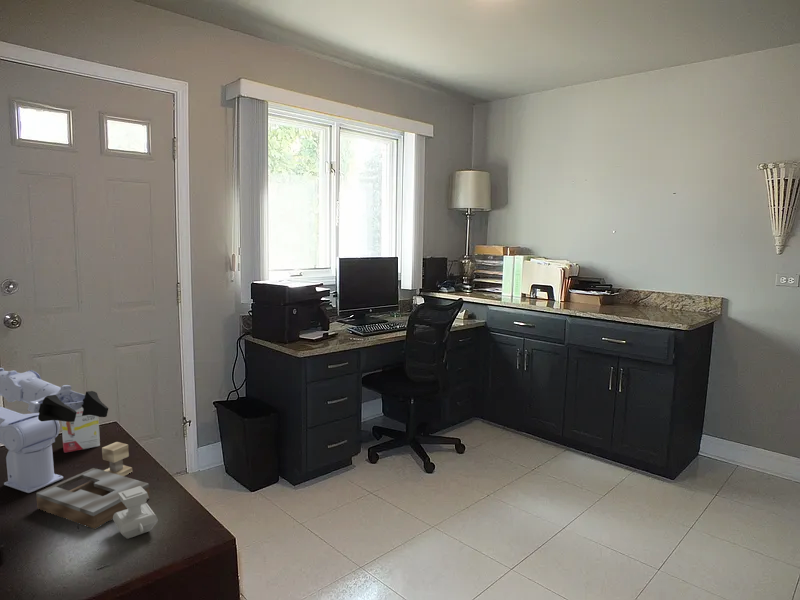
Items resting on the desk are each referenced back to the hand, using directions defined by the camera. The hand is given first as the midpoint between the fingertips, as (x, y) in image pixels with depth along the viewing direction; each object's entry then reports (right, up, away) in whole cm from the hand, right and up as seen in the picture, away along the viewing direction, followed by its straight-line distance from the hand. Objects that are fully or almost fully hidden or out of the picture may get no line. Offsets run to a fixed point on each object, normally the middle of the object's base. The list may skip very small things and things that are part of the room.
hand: (90, 414), depth 111 cm
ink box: (-21, -16, +30) cm, 40 cm away
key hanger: (-2, -18, +15) cm, 23 cm away
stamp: (+14, -21, -9) cm, 27 cm away
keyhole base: (0, -20, +1) cm, 20 cm away
